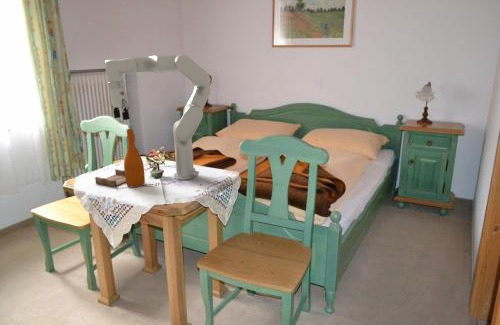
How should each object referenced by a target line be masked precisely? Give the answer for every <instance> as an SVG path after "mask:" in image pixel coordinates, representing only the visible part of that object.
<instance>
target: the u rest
mask: <svg viewBox="0 0 500 325" xmlns="http://www.w3.org/2000/svg"><path fill="white" fill-rule="evenodd" d="M114 170H115V174H113V175H111V176H110V175H109V177H108V176H107V177H106V178H105V177H100V176H96V177H95V178H94V180H95V184H96V185H102V186H106V187H110V188H117V187H119V186H122V185H125V184H126V179H125V172H124V170H123V169H114Z"/></svg>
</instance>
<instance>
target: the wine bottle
mask: <svg viewBox="0 0 500 325" xmlns="http://www.w3.org/2000/svg"><path fill="white" fill-rule="evenodd" d="M126 138H127V139H128V140H127V142H128V144H127V151H126V153H125V155H124V156H125V157H124V160H123V169H124V172H125V179H126V183H125V185H126V186H127V187H129V188H138V187H142V186H143V185H145V183H146V178H145V166H144V161H143V158H142V157H141V154H140V151H139V149H138V147H137V146H136V145H135V140H134V138H135V134H134V129H133V128H128V129H127V128H126Z"/></svg>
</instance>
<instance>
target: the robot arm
mask: <svg viewBox="0 0 500 325" xmlns="http://www.w3.org/2000/svg"><path fill="white" fill-rule="evenodd" d="M104 66H105V72H106V78H107V79H106V80H107V84H108V89H109V94H110V104H111V107H112V111H113V117H114V119H118V118H119V119H120V118H121V114H122V120H123V121H127V120H130V119H131V118H130V112H129V111H130V110H129V109H130V108H129V107H130V105H129V99H128V95H127V91H126V88H125V80H124V75H125V74H127V75H130V74H131V75H132V74H134V73H143V72H144V73H146V72H147V73H155V74H156V73H157V74H159V73H161V74H163V73H175V72H176V73H177V72H179V73H181V74H182V76H184V77H186V78H187V79H188V80H189V81H190V82H192V84H193V85H194V87H193V91H192V94H191V96H190V98H189V99H188V101H187V103H186V105H185V106H184V108H183V109H182V110H183V111H182V112H183V114H182V116H181V119H179V120H176V121H175V123H174V124H173V126H172V134H173V135H172V136H173V144H174V145H173V146H174V157H175V170H176V172H175V173H174V174H173V177H174V179H176V180H180V181H184V180H186V181H187V180H190V179H191V180H192V179H195V178H196V177H198V176H199V175H200V171H199V170H196V168H195V167H194V154H193V153H194V152H193V140H192V138H193V136H194V134H195V133H196V131H197V129H198V127H199V125H200V124H201V122H202V120H203V117H204V111H203V110H204V108H205V105H206V103H207V101H208V99H209V97H210V94H211V82H210V80H211V79H210V75H209V73H208V72H207V71H206V70H205V69H204V68H203V67H201V66H200V65H199V64H198V63H196V62H195V61H194V60H193V59H192V58H190V57H189V56H188V55H186V54H183V53H182V54H181V53H180V54H162V55H151V56H139V57H138V56H137V57H126V58H122V59H115V58H114V59H107V60H105V61H104ZM120 109H121V111H122V113H121V112H120Z"/></svg>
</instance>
